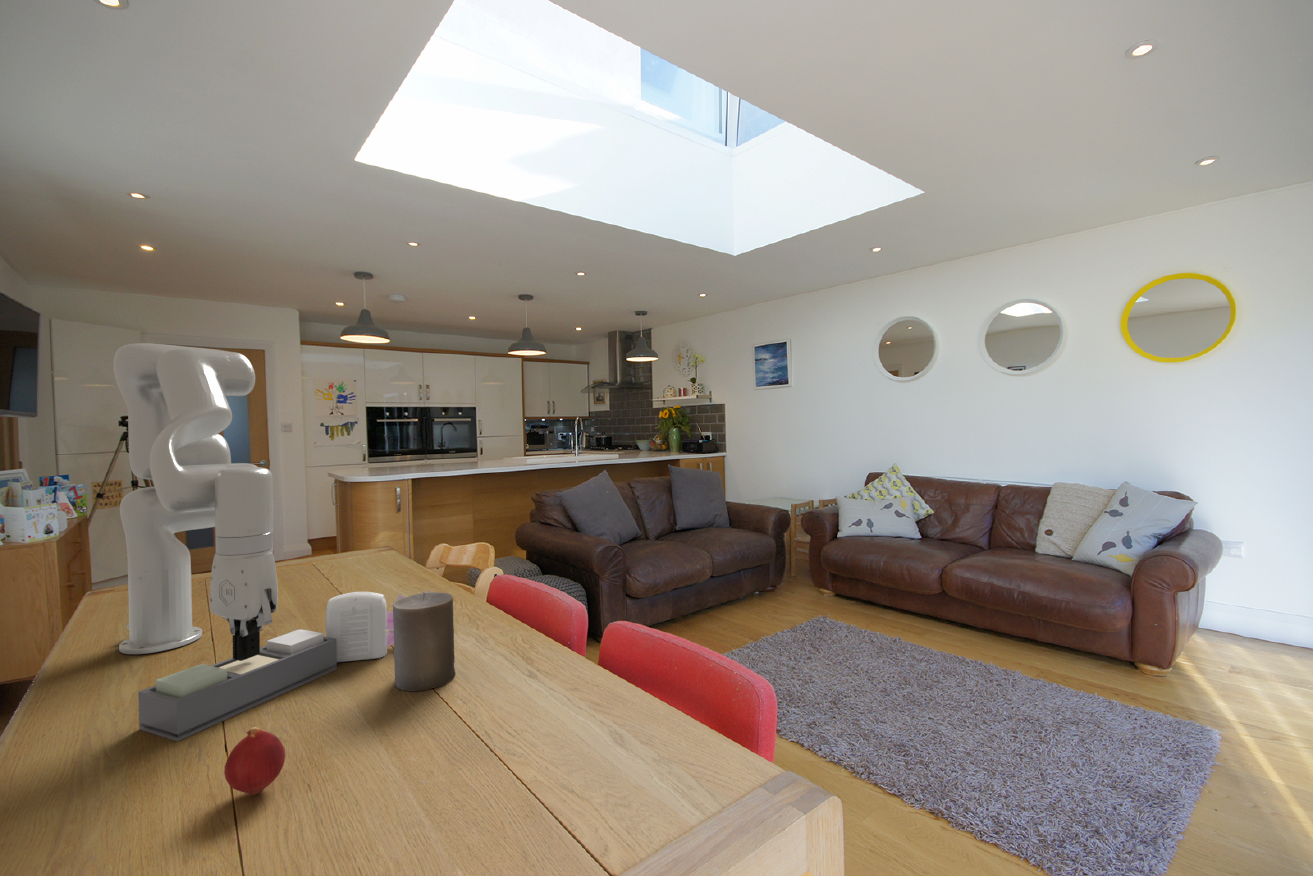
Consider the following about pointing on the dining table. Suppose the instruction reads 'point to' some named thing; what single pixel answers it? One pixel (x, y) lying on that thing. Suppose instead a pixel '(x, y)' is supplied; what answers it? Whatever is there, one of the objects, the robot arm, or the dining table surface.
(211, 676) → the key sage
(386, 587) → the dining table surface
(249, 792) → the onion
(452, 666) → the pillar candle
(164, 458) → the robot arm
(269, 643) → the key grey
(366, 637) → the photo printer
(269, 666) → the grey compartment tray
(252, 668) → the key sand
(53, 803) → the dining table surface
